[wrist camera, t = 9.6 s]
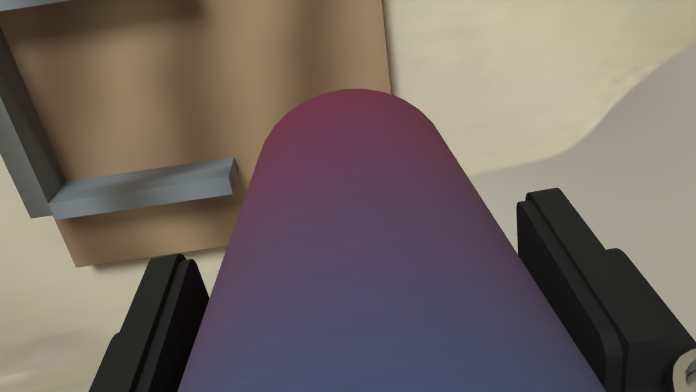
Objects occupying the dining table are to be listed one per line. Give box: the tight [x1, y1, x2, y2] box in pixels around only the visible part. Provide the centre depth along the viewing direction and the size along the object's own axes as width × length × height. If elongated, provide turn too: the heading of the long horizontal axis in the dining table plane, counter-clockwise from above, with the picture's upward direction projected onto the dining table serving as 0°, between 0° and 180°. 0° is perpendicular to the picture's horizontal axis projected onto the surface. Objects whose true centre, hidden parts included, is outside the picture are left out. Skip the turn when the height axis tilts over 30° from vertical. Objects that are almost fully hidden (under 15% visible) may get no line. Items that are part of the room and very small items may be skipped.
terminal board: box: [0, 0, 391, 268], centre depth 28 cm, size 20×16×12 cm
